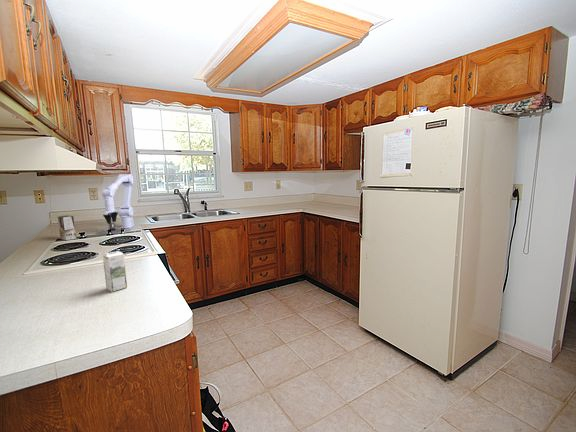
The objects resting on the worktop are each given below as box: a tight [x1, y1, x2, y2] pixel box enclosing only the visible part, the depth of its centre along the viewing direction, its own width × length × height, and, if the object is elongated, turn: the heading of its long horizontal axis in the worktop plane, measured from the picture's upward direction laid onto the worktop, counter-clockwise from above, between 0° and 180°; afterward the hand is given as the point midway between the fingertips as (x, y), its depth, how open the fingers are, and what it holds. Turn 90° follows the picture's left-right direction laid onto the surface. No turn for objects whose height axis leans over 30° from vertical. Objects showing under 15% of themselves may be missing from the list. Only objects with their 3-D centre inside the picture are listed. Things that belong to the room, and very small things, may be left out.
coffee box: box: [57, 214, 77, 241], centre depth 201 cm, size 9×6×16 cm
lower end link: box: [101, 228, 131, 235], centre depth 222 cm, size 10×16×2 cm, turn 95°
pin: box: [108, 222, 116, 230], centre depth 221 cm, size 4×4×7 cm
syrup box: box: [102, 250, 128, 293], centre depth 114 cm, size 6×6×14 cm
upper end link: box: [96, 227, 121, 235], centre depth 221 cm, size 10×14×2 cm
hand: (111, 222), depth 221 cm, fingers open, 7 cm apart
